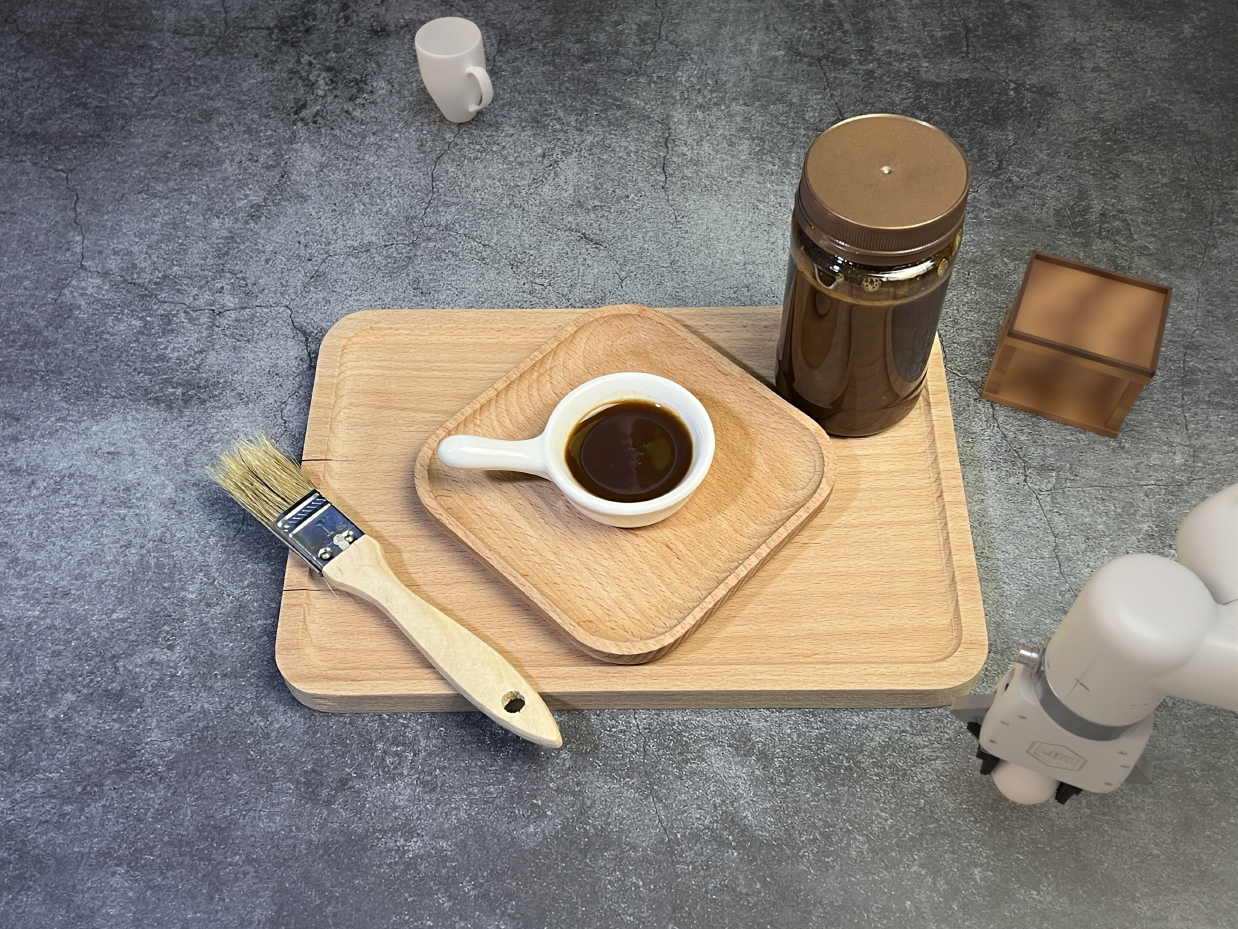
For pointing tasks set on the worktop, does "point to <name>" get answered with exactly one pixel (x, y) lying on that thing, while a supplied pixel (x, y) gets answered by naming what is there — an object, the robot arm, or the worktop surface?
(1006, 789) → the egg
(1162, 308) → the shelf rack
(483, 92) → the mug
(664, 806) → the worktop surface
